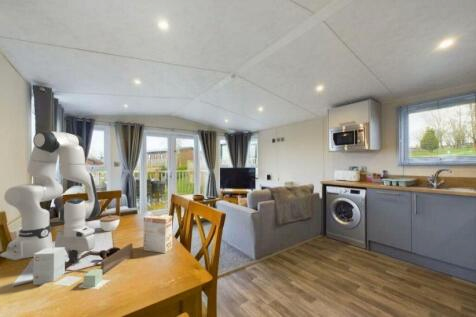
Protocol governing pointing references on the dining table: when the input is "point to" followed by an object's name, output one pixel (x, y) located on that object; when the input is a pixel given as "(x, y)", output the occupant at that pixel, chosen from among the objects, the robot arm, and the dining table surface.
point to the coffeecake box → (157, 233)
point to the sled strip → (106, 263)
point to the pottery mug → (108, 252)
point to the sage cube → (93, 278)
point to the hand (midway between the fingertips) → (74, 257)
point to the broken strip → (71, 280)
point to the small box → (48, 265)
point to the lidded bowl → (109, 222)
